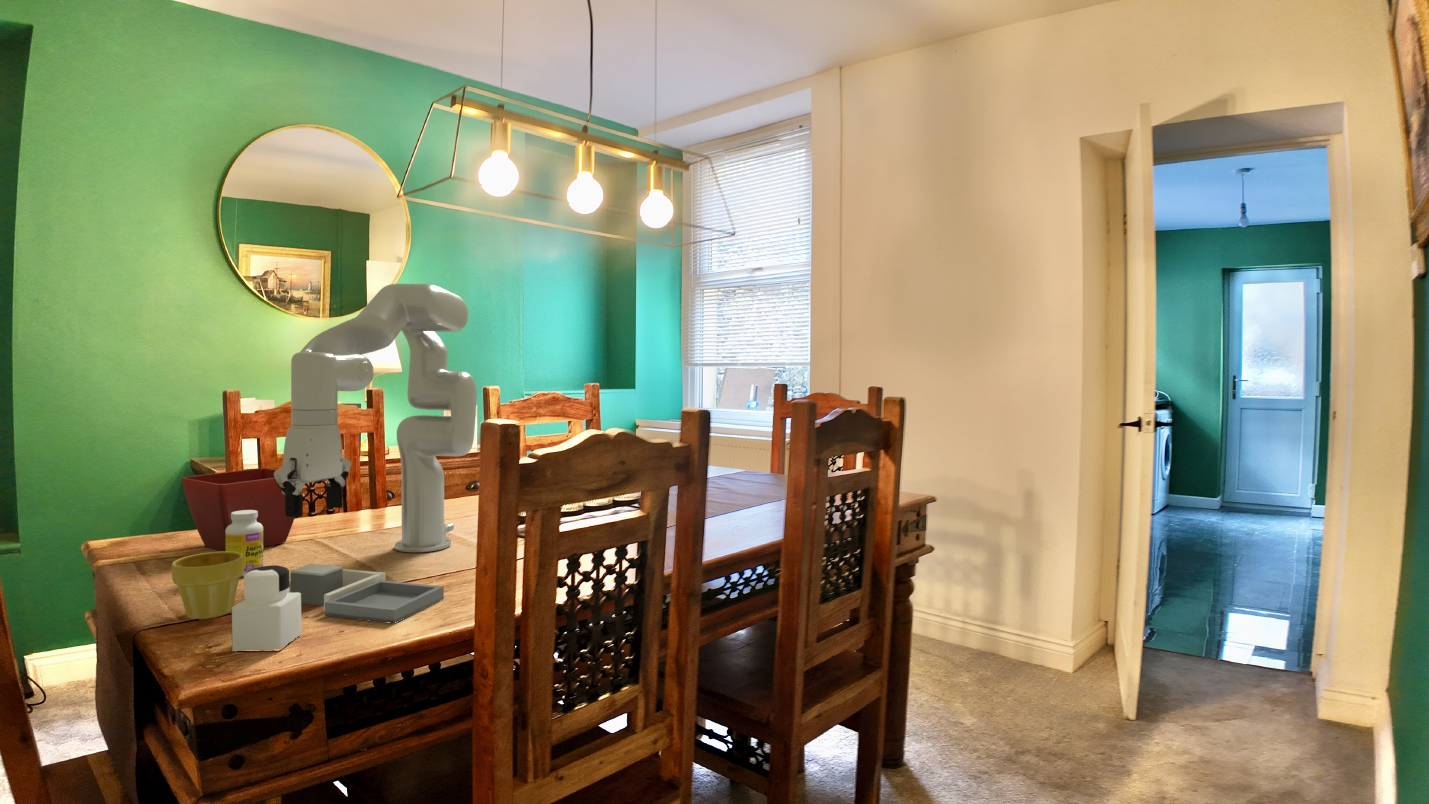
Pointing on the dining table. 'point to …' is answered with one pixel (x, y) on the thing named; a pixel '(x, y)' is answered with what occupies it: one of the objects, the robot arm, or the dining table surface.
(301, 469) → the robot arm
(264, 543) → the plant pot
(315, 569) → the gray block
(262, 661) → the dining table surface
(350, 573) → the bay
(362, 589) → the tray
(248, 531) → the supplement bottle
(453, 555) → the dining table surface
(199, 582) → the plant pot
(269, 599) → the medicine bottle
